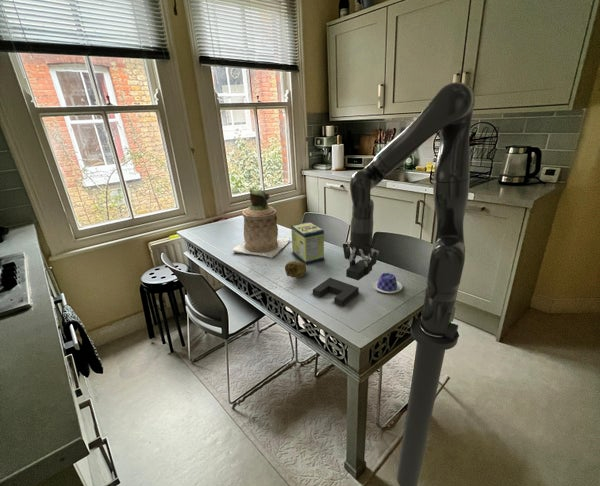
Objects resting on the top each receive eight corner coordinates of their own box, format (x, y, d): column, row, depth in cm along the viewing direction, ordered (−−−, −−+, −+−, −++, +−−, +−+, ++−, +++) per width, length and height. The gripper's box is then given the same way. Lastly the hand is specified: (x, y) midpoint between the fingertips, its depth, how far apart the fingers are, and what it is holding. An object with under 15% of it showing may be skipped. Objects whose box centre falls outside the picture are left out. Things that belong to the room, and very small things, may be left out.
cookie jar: (274, 258, 159) (269, 196, 145) (231, 253, 166) (222, 193, 152) (290, 240, 180) (288, 184, 166) (251, 237, 187) (246, 182, 174)
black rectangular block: (372, 270, 117) (372, 262, 116) (358, 280, 111) (358, 273, 109) (360, 266, 120) (360, 259, 119) (346, 276, 114) (346, 269, 112)
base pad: (358, 292, 127) (358, 287, 126) (342, 306, 119) (342, 300, 118) (329, 282, 135) (329, 277, 134) (312, 294, 127) (312, 289, 126)
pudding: (391, 298, 123) (392, 286, 121) (366, 287, 131) (367, 275, 129) (407, 286, 130) (409, 275, 128) (382, 277, 138) (383, 266, 136)
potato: (314, 274, 142) (313, 258, 139) (292, 284, 135) (291, 267, 131) (301, 268, 148) (301, 253, 145) (280, 277, 140) (279, 261, 137)
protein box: (309, 249, 168) (309, 221, 162) (324, 260, 155) (324, 230, 149) (292, 253, 164) (290, 225, 158) (305, 264, 151) (304, 234, 145)
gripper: (386, 229, 106) (382, 274, 114) (349, 221, 115) (348, 263, 122) (375, 236, 101) (371, 282, 109) (338, 227, 110) (337, 270, 117)
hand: (359, 272), depth 115 cm, fingers closed on black rectangular block, 5 cm apart
